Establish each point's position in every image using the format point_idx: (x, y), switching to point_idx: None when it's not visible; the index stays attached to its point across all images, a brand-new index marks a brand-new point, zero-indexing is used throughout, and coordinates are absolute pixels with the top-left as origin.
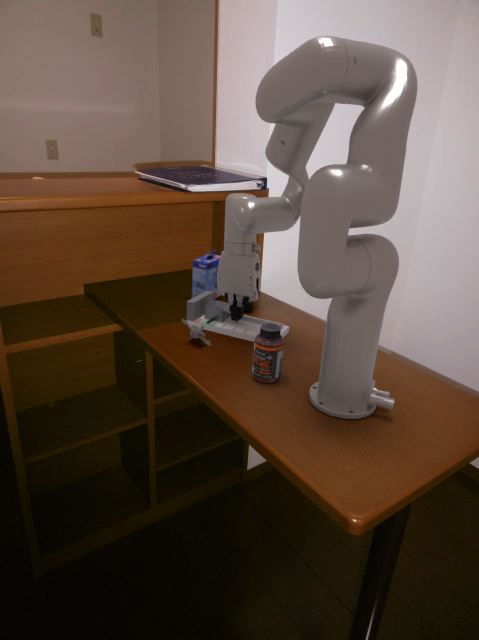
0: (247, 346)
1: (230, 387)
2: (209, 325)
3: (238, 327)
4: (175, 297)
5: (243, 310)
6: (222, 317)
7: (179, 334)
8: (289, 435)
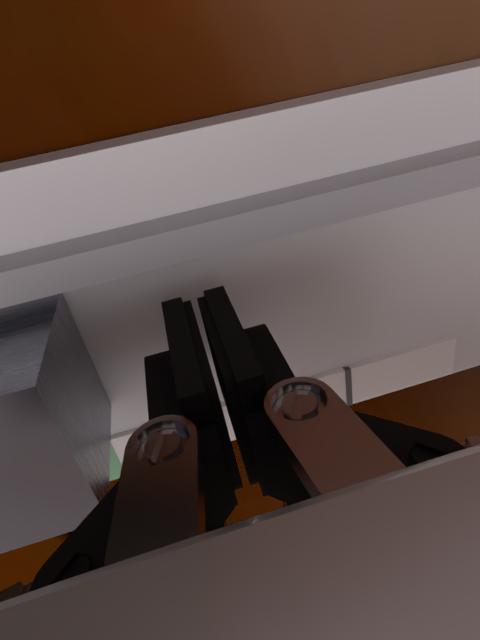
0: (389, 416)
1: None
2: None
3: None
4: None
5: (283, 360)
6: (106, 426)
7: (13, 577)
8: None
